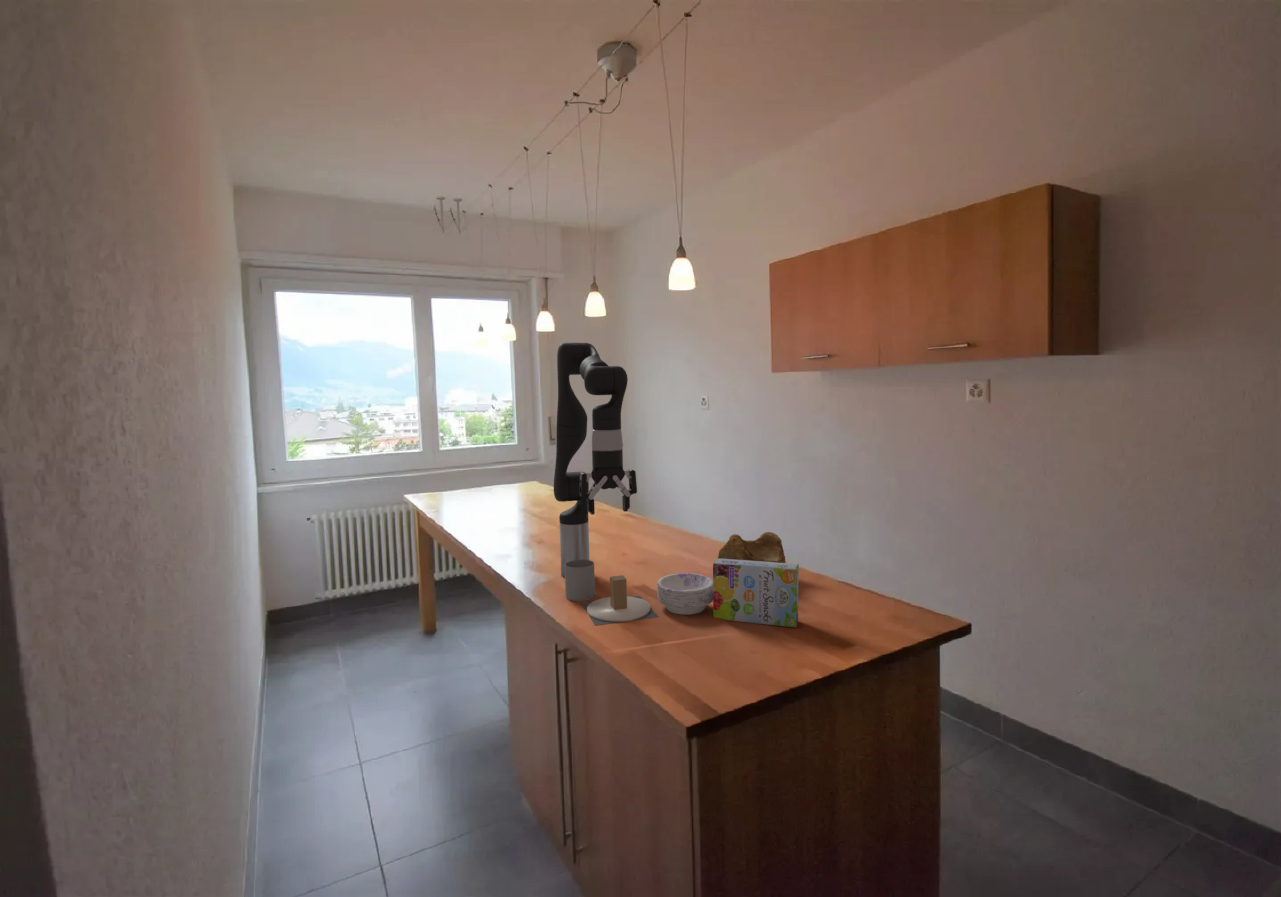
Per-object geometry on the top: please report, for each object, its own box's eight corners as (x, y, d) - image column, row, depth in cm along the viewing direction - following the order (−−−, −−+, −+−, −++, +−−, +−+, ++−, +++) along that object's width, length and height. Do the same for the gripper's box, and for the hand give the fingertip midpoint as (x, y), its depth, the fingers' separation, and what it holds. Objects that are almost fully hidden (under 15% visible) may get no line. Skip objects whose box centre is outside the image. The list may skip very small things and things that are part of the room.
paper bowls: (649, 615, 162) (648, 586, 161) (668, 597, 176) (668, 570, 175) (705, 623, 156) (704, 593, 155) (720, 603, 170) (720, 575, 169)
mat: (581, 604, 171) (581, 603, 171) (639, 597, 176) (639, 595, 176) (595, 627, 155) (595, 625, 155) (659, 618, 160) (659, 616, 160)
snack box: (798, 620, 157) (799, 563, 155) (796, 629, 152) (797, 569, 150) (716, 612, 164) (716, 556, 162) (712, 619, 159) (711, 562, 157)
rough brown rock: (745, 602, 173) (750, 551, 170) (708, 582, 187) (712, 534, 184) (804, 589, 185) (808, 541, 183) (765, 571, 199) (769, 526, 197)
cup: (590, 603, 172) (589, 568, 171) (561, 601, 173) (560, 567, 172) (598, 593, 180) (597, 560, 179) (571, 591, 182) (570, 558, 181)
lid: (581, 603, 171) (580, 572, 170) (639, 595, 176) (639, 565, 175) (595, 625, 155) (594, 591, 154) (659, 616, 160) (658, 583, 159)
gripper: (630, 445, 157) (631, 507, 159) (575, 447, 153) (577, 512, 154) (639, 447, 150) (640, 513, 152) (582, 450, 146) (584, 518, 147)
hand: (608, 512), depth 153 cm, fingers open, 8 cm apart
